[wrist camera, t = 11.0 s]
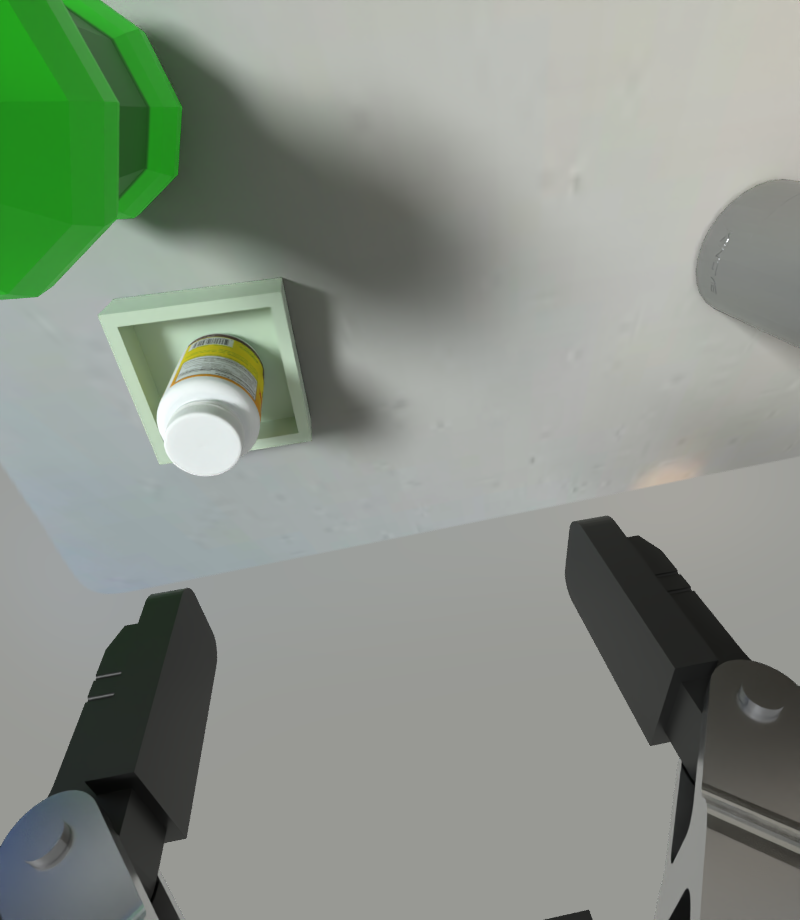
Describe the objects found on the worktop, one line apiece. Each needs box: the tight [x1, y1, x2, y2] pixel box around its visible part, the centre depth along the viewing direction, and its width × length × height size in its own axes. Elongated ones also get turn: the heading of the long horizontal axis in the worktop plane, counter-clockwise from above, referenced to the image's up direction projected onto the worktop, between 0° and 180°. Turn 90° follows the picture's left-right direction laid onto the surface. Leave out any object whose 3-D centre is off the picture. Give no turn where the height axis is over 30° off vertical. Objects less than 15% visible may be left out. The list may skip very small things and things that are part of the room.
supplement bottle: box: [157, 333, 264, 476], centre depth 32 cm, size 6×6×10 cm
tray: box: [98, 278, 312, 465], centre depth 35 cm, size 11×11×3 cm
